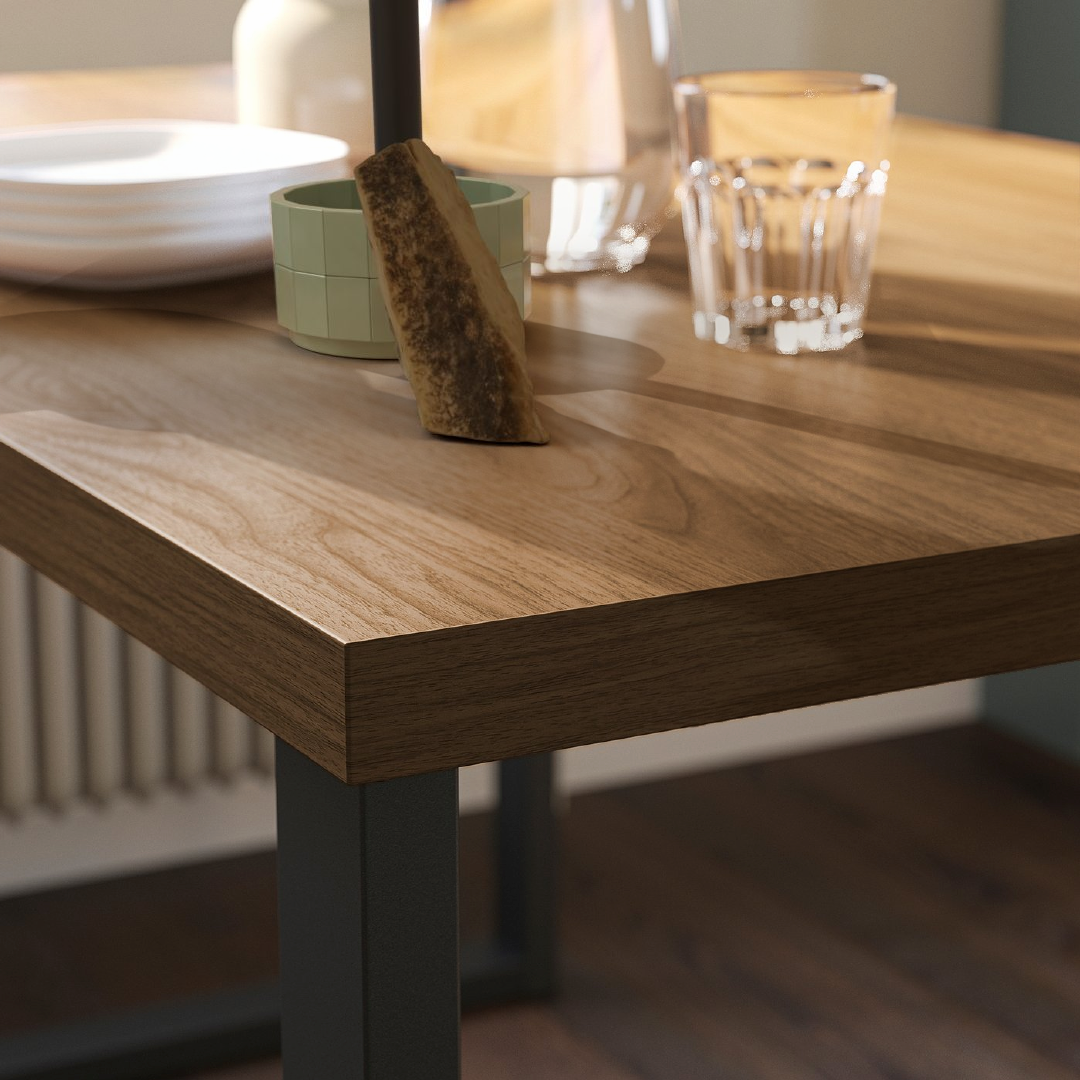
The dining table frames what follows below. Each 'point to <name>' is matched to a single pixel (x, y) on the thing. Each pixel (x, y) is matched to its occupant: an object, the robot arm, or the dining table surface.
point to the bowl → (371, 261)
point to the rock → (446, 300)
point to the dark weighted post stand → (395, 71)
